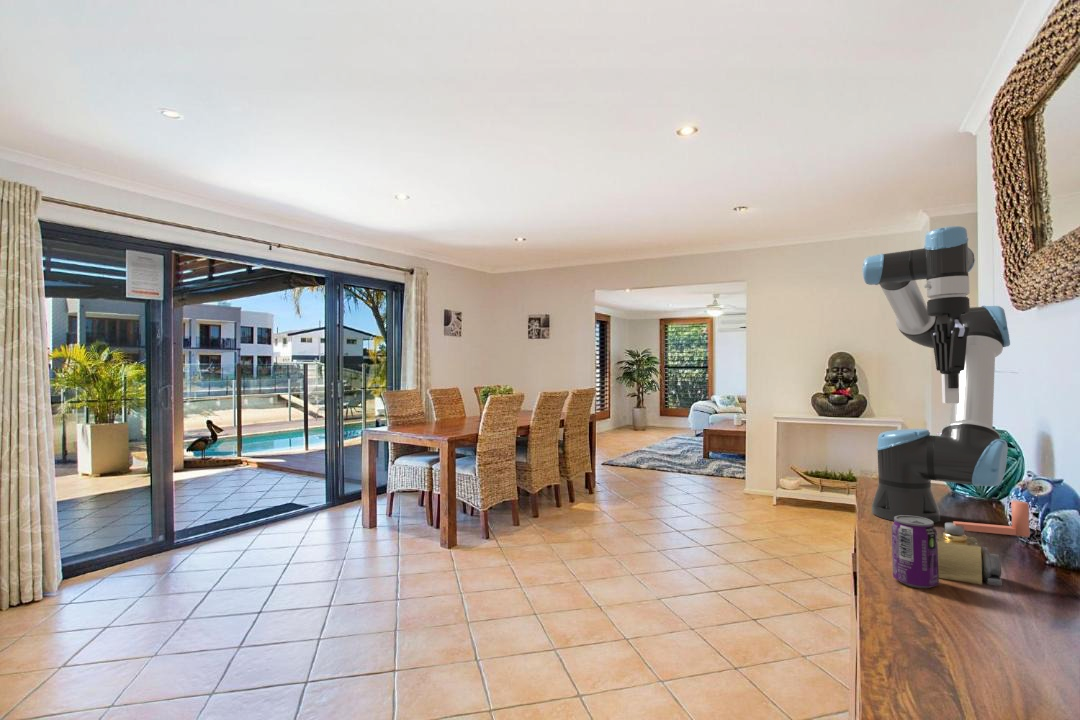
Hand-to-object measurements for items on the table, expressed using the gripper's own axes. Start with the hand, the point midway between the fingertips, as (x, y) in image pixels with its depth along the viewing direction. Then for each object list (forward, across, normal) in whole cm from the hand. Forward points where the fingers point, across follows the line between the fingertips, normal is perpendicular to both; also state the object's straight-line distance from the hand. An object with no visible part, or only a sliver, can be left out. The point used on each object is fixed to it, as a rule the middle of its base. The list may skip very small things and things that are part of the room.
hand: (951, 402), depth 118 cm
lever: (+24, +18, -2) cm, 30 cm away
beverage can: (+33, +23, -15) cm, 43 cm away
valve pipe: (+32, +17, -7) cm, 37 cm away
